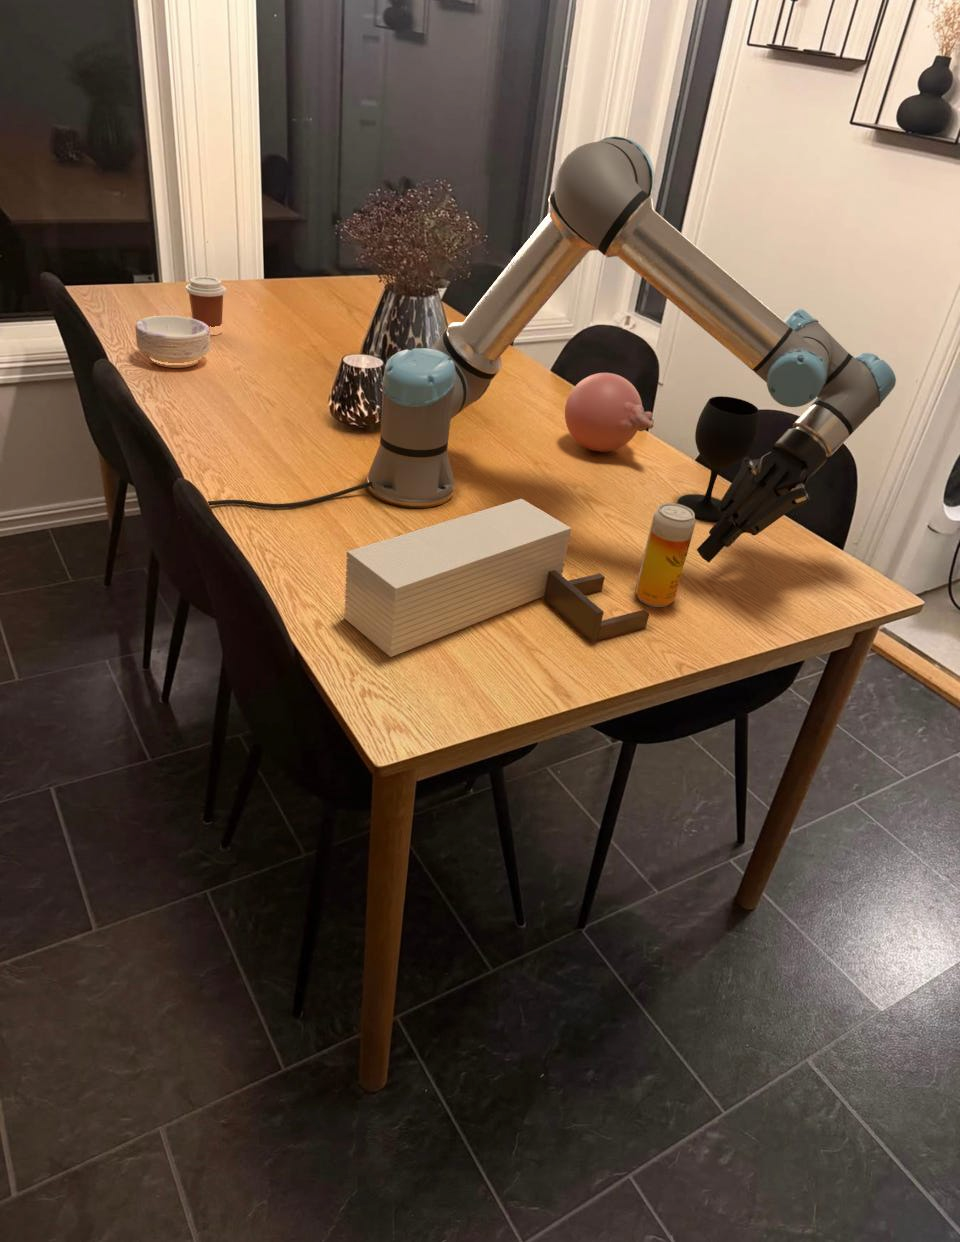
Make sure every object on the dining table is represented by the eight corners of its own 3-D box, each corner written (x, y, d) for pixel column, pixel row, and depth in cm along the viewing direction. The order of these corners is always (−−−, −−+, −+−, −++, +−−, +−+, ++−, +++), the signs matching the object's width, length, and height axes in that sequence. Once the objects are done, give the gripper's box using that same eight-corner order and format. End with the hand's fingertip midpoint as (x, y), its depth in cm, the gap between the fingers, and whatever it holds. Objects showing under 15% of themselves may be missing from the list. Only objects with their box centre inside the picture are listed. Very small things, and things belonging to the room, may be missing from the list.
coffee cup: (222, 339, 217) (220, 287, 211) (183, 335, 217) (180, 282, 210) (231, 328, 225) (229, 277, 218) (193, 324, 224) (190, 273, 218)
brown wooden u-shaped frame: (597, 586, 142) (603, 558, 140) (646, 627, 134) (653, 598, 132) (543, 599, 138) (548, 571, 135) (590, 642, 130) (597, 613, 127)
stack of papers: (512, 559, 147) (521, 498, 141) (559, 590, 140) (571, 527, 134) (344, 618, 127) (346, 551, 122) (390, 657, 121) (395, 588, 115)
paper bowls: (226, 363, 205) (224, 327, 200) (172, 378, 194) (170, 341, 189) (177, 345, 211) (174, 310, 206) (123, 359, 200) (119, 322, 195)
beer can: (673, 612, 139) (697, 524, 130) (633, 604, 139) (654, 516, 131) (674, 592, 144) (697, 506, 135) (635, 584, 144) (656, 498, 136)
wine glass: (735, 504, 173) (765, 403, 162) (729, 527, 165) (761, 422, 154) (681, 491, 176) (707, 390, 165) (672, 513, 167) (699, 408, 156)
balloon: (612, 479, 176) (629, 402, 168) (543, 440, 189) (555, 367, 180) (666, 465, 185) (684, 391, 177) (596, 428, 197) (610, 358, 189)
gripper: (848, 474, 139) (740, 588, 141) (784, 440, 148) (683, 548, 149) (836, 445, 134) (723, 564, 135) (771, 412, 143) (666, 524, 144)
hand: (702, 556), depth 142 cm, fingers closed
